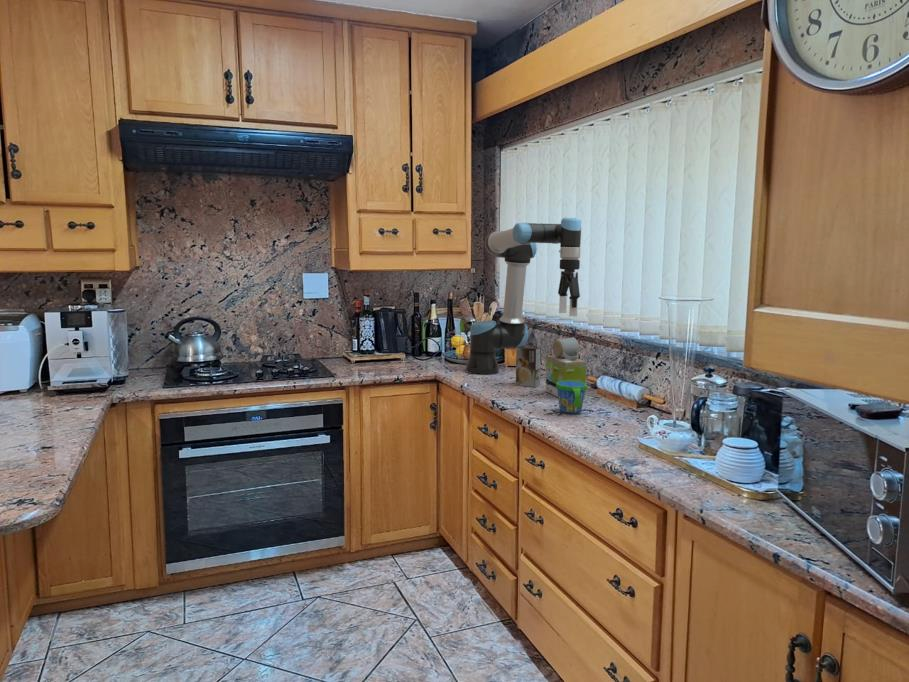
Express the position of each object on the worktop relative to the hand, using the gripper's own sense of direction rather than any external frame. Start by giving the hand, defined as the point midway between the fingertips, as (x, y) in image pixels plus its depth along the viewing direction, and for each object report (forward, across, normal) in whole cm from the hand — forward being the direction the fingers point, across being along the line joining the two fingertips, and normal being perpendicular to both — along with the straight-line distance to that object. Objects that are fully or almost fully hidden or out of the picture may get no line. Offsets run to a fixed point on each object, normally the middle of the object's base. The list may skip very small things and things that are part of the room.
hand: (567, 314), depth 256 cm
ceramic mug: (+17, 0, 0) cm, 17 cm away
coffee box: (+32, -20, -10) cm, 39 cm away
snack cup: (+32, +27, -6) cm, 42 cm away
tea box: (+32, 0, 0) cm, 32 cm away
